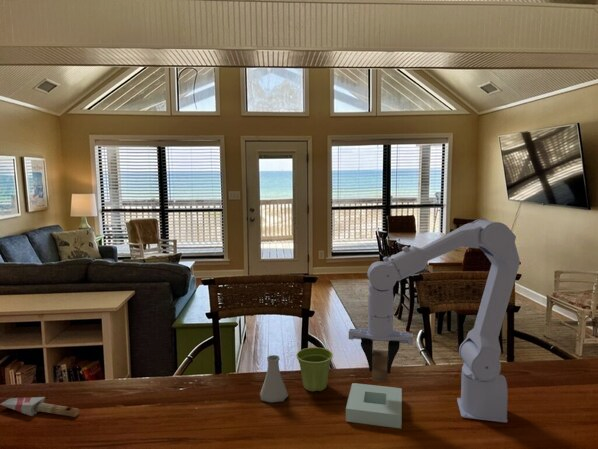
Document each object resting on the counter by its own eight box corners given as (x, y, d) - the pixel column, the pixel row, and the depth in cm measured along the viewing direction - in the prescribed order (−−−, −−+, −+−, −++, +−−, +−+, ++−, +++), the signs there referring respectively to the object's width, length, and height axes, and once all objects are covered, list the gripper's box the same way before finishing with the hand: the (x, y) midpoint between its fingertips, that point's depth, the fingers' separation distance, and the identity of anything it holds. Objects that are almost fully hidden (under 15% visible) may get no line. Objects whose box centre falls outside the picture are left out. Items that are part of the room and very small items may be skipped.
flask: (290, 389, 105) (289, 352, 104) (286, 404, 97) (285, 364, 97) (262, 388, 105) (261, 351, 104) (256, 403, 98) (255, 363, 97)
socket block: (401, 400, 99) (401, 388, 98) (401, 428, 87) (401, 415, 87) (352, 394, 102) (352, 382, 101) (345, 421, 90) (345, 408, 90)
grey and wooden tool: (11, 391, 99) (82, 403, 95) (12, 402, 100) (82, 414, 96) (-3, 399, 96) (69, 411, 91) (-3, 410, 96) (70, 423, 92)
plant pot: (319, 399, 99) (319, 365, 99) (289, 388, 105) (289, 356, 104) (339, 384, 107) (339, 352, 106) (310, 374, 112) (310, 344, 112)
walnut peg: (387, 375, 96) (388, 351, 96) (387, 382, 93) (387, 356, 92) (373, 374, 97) (373, 349, 96) (372, 380, 94) (372, 355, 93)
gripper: (413, 311, 95) (411, 366, 97) (351, 306, 99) (351, 360, 100) (413, 320, 88) (412, 380, 90) (347, 315, 92) (347, 373, 93)
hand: (380, 370), depth 94 cm, fingers closed on walnut peg, 3 cm apart
